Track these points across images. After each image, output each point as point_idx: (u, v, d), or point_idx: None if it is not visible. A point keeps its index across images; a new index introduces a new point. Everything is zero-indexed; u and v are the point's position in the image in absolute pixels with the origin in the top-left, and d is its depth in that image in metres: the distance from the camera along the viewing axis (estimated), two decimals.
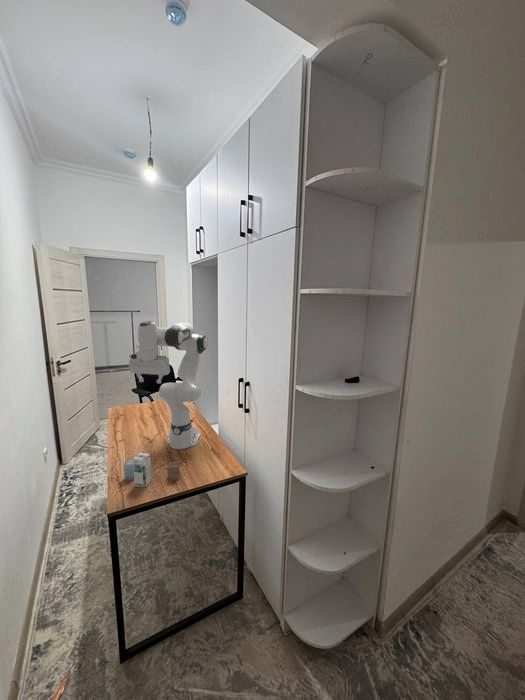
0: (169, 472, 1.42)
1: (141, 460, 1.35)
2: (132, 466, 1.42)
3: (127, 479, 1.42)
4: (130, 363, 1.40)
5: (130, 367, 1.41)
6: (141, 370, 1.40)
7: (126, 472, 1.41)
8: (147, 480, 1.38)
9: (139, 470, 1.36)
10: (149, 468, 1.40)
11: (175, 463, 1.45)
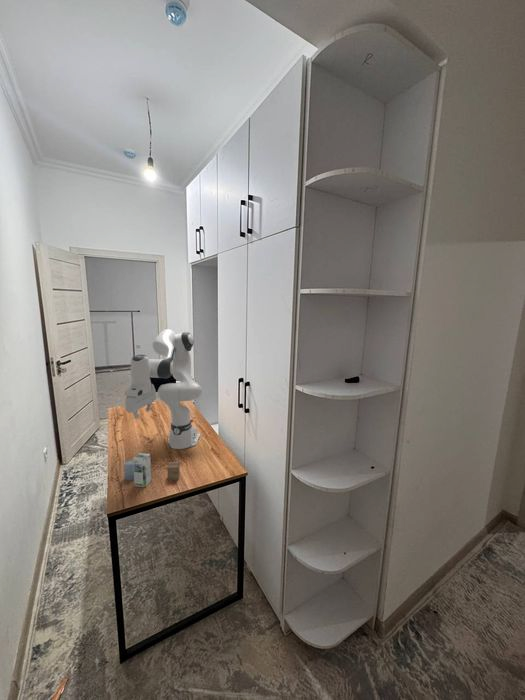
0: (169, 472, 1.42)
1: (141, 460, 1.35)
2: (132, 466, 1.42)
3: (127, 479, 1.42)
4: (134, 402, 1.34)
5: (134, 406, 1.34)
6: (141, 404, 1.40)
7: (126, 472, 1.41)
8: (147, 480, 1.38)
9: (139, 470, 1.36)
10: (149, 468, 1.40)
11: (175, 463, 1.45)
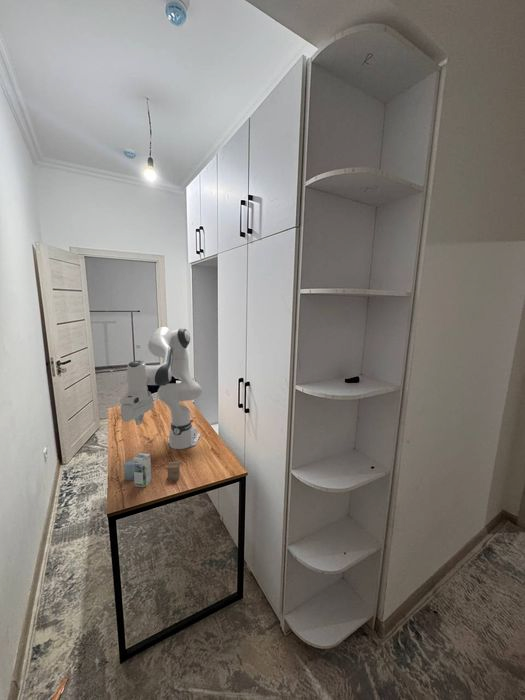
0: (169, 472, 1.42)
1: (141, 460, 1.35)
2: (132, 466, 1.42)
3: (127, 479, 1.42)
4: (130, 410, 1.27)
5: (130, 415, 1.27)
6: (137, 413, 1.33)
7: (126, 472, 1.41)
8: (147, 480, 1.38)
9: (139, 470, 1.36)
10: (149, 468, 1.40)
11: (175, 463, 1.45)
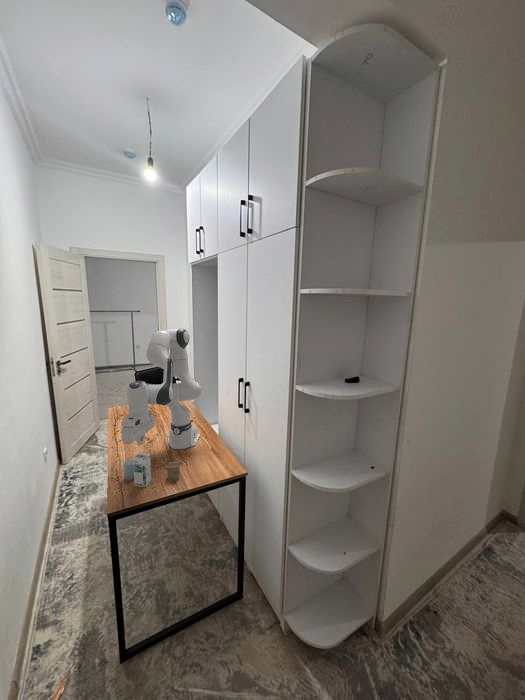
0: (169, 472, 1.42)
1: (141, 460, 1.35)
2: (132, 466, 1.42)
3: (127, 479, 1.42)
4: (132, 433, 1.26)
5: (131, 437, 1.26)
6: (138, 434, 1.32)
7: (126, 472, 1.41)
8: (147, 480, 1.38)
9: (139, 470, 1.36)
10: (149, 468, 1.40)
11: (175, 463, 1.45)
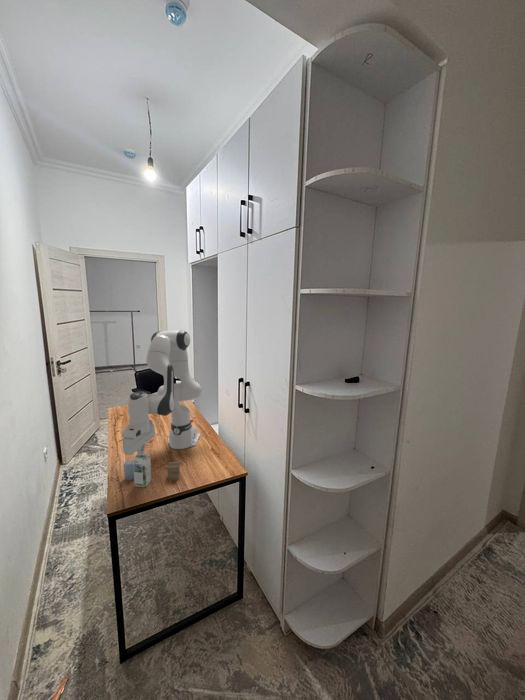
0: (169, 472, 1.42)
1: (141, 460, 1.35)
2: (132, 466, 1.42)
3: (127, 479, 1.42)
4: (132, 444, 1.27)
5: (132, 448, 1.27)
6: (139, 445, 1.33)
7: (126, 472, 1.41)
8: (147, 480, 1.38)
9: (139, 470, 1.36)
10: (149, 468, 1.40)
11: (175, 463, 1.45)
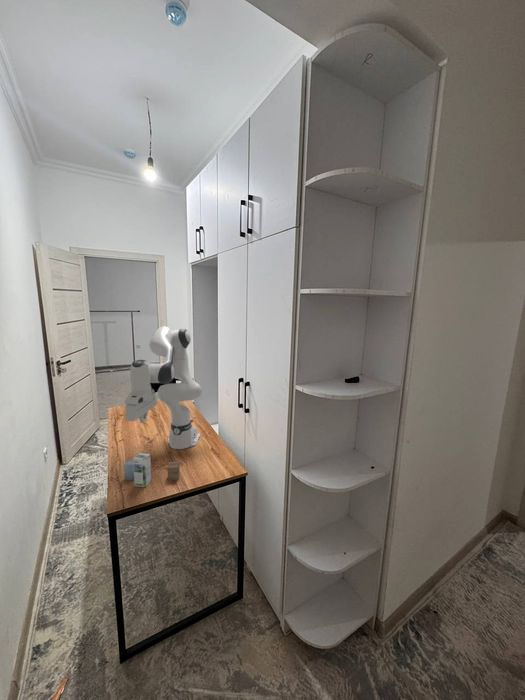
0: (169, 472, 1.42)
1: (141, 460, 1.35)
2: (132, 466, 1.42)
3: (127, 479, 1.42)
4: (135, 410, 1.28)
5: (134, 415, 1.29)
6: (141, 412, 1.34)
7: (126, 472, 1.41)
8: (147, 480, 1.38)
9: (139, 470, 1.36)
10: (149, 468, 1.40)
11: (175, 463, 1.45)
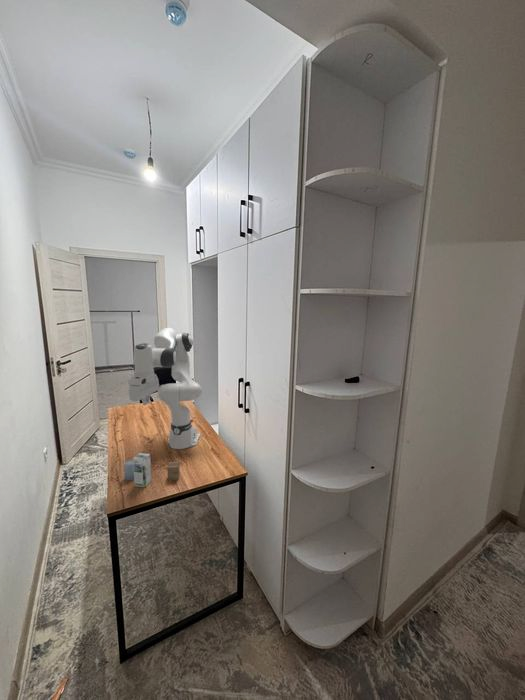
0: (169, 472, 1.42)
1: (141, 460, 1.35)
2: (132, 466, 1.42)
3: (127, 479, 1.42)
4: (138, 390, 1.33)
5: (137, 395, 1.33)
6: (144, 394, 1.38)
7: (126, 472, 1.41)
8: (147, 480, 1.38)
9: (139, 470, 1.36)
10: (149, 468, 1.40)
11: (175, 463, 1.45)
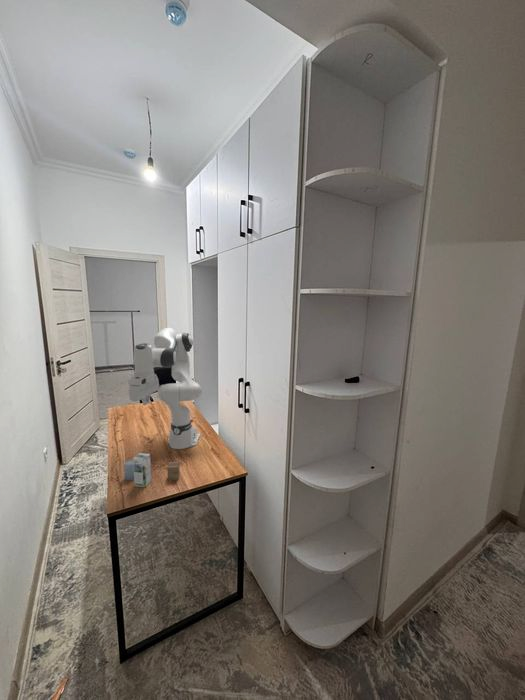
0: (169, 472, 1.42)
1: (141, 460, 1.35)
2: (132, 466, 1.42)
3: (127, 479, 1.42)
4: (138, 390, 1.33)
5: (137, 395, 1.33)
6: (144, 394, 1.38)
7: (126, 472, 1.41)
8: (147, 480, 1.38)
9: (139, 470, 1.36)
10: (149, 468, 1.40)
11: (175, 463, 1.45)
